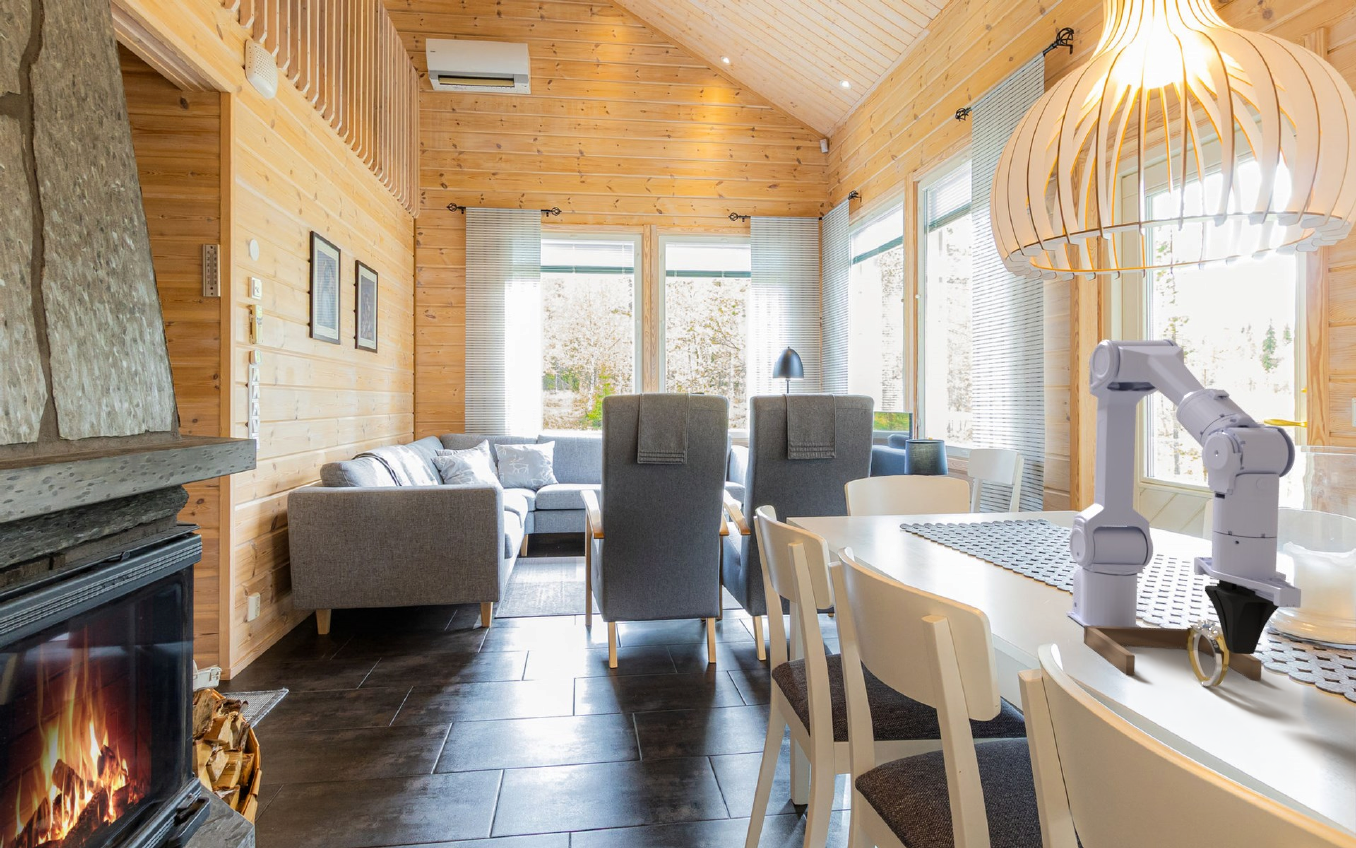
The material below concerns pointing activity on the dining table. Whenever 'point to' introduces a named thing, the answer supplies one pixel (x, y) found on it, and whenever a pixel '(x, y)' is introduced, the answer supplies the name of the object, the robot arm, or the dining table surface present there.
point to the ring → (1220, 657)
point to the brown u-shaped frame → (1156, 646)
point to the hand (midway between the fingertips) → (1240, 651)
